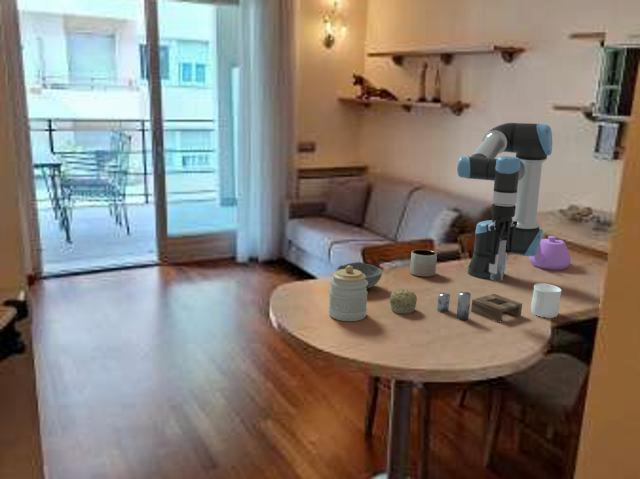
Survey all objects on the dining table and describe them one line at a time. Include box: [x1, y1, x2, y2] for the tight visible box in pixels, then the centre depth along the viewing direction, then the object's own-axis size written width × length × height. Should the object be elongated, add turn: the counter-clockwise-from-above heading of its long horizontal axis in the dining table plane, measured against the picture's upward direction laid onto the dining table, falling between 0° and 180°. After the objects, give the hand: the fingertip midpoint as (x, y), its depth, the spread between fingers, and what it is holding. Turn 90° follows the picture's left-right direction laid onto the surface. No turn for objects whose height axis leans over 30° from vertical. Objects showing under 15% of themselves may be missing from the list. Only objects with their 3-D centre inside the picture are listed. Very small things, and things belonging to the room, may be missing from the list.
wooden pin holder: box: [470, 293, 523, 323], centre depth 208 cm, size 12×12×4 cm
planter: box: [409, 248, 438, 278], centre depth 252 cm, size 11×11×10 cm
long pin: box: [489, 238, 507, 282], centre depth 200 cm, size 4×4×14 cm
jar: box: [328, 265, 368, 322], centre depth 200 cm, size 13×13×18 cm
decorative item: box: [389, 288, 418, 314], centre depth 208 cm, size 10×10×10 cm
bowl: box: [336, 261, 383, 290], centre depth 231 cm, size 18×18×8 cm
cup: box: [530, 282, 562, 319], centre depth 208 cm, size 10×10×10 cm
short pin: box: [436, 292, 451, 313], centre depth 209 cm, size 4×4×6 cm
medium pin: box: [456, 291, 472, 322], centre depth 201 cm, size 4×4×9 cm
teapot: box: [528, 235, 571, 271], centre depth 270 cm, size 25×18×14 cm
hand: (497, 271), depth 201 cm, fingers closed on long pin, 4 cm apart
